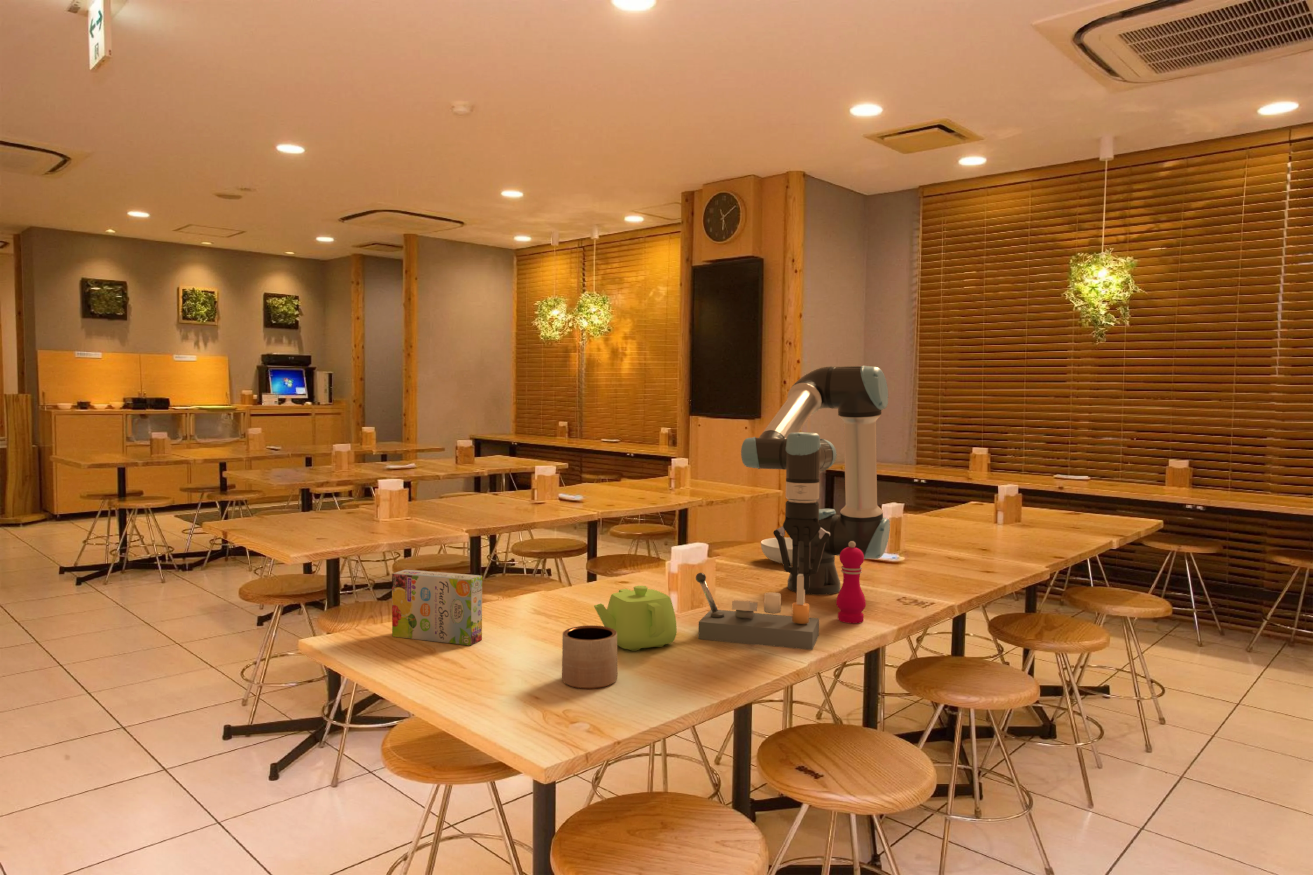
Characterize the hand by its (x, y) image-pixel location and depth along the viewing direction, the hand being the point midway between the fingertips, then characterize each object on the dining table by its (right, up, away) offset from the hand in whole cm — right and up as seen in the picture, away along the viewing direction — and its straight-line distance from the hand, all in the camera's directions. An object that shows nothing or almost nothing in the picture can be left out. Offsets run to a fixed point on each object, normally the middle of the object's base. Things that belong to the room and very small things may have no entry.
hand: (800, 603), depth 190 cm
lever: (-19, -3, +6) cm, 20 cm away
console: (-9, -9, +3) cm, 13 cm away
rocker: (-12, -3, +4) cm, 13 cm away
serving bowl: (+13, -5, +91) cm, 92 cm away
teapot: (-38, -9, -3) cm, 40 cm away
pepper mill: (+16, -8, +19) cm, 26 cm away
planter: (-46, -10, -27) cm, 54 cm away
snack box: (-83, -9, +1) cm, 84 cm away
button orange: (0, -4, 0) cm, 4 cm away
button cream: (-6, -2, +2) cm, 7 cm away
